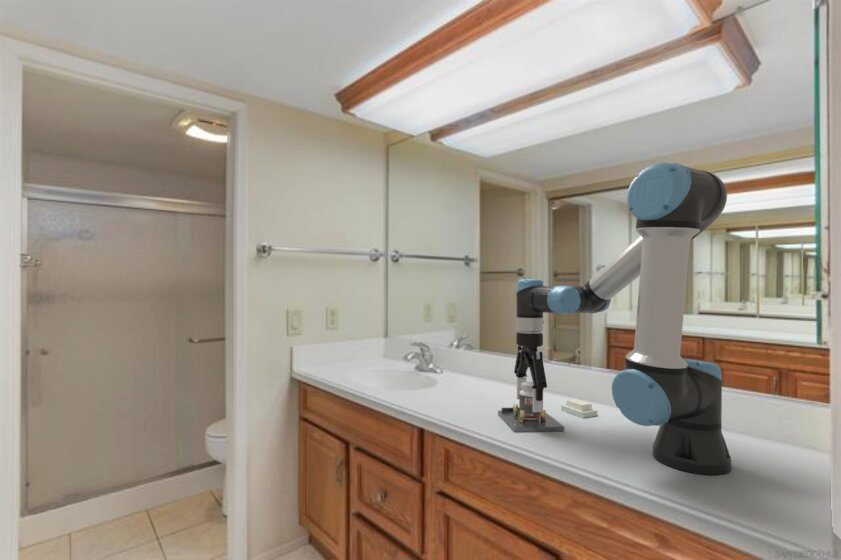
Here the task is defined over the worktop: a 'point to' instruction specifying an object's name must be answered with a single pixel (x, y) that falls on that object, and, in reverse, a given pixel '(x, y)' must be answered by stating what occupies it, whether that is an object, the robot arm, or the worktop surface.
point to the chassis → (528, 421)
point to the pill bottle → (527, 401)
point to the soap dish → (579, 413)
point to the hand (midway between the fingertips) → (529, 405)
